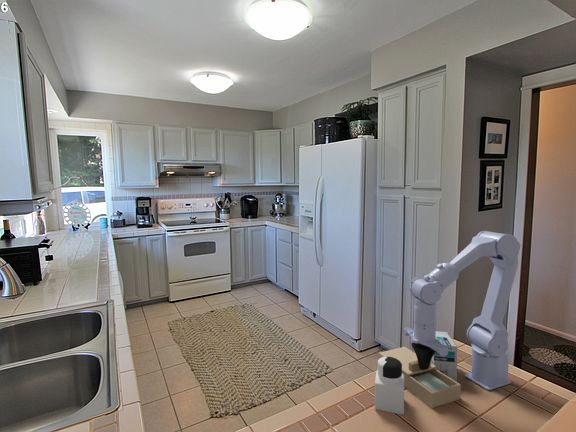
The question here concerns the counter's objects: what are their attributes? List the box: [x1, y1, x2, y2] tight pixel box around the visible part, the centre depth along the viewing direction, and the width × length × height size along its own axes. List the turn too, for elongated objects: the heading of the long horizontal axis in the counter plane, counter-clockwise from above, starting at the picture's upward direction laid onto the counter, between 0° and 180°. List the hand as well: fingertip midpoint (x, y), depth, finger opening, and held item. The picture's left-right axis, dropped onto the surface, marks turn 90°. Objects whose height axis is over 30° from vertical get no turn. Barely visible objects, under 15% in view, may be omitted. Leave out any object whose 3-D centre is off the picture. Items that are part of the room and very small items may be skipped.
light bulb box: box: [431, 330, 458, 382], centre depth 100 cm, size 11×7×11 cm, turn 168°
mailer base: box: [402, 369, 462, 409], centre depth 91 cm, size 10×13×4 cm
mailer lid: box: [378, 346, 436, 376], centre depth 99 cm, size 10×13×3 cm
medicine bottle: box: [374, 356, 405, 416], centre depth 85 cm, size 7×7×12 cm
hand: (424, 368), depth 92 cm, fingers closed
